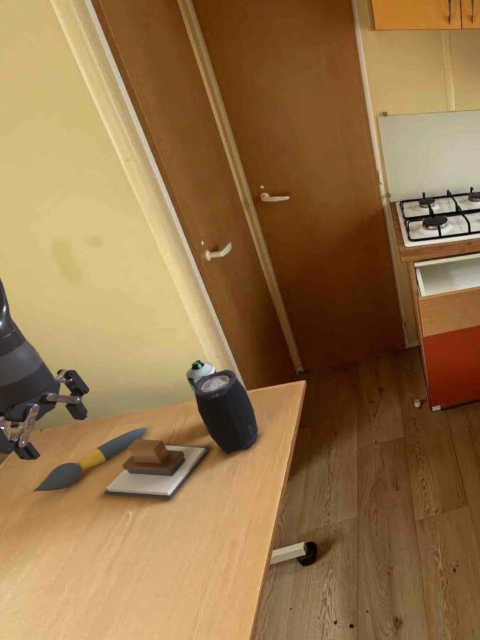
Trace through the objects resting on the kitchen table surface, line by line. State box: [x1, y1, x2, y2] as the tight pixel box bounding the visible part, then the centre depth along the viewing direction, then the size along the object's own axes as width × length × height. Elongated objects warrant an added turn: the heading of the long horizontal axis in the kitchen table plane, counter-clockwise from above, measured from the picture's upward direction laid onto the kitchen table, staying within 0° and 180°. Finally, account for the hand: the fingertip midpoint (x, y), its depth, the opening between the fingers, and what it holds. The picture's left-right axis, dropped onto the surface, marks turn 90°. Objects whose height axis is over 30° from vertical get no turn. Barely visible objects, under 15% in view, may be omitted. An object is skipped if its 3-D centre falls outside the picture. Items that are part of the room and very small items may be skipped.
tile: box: [103, 444, 211, 500], centre depth 95 cm, size 15×12×2 cm
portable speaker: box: [194, 368, 259, 455], centre depth 98 cm, size 9×9×20 cm
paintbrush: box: [32, 427, 148, 492], centre depth 96 cm, size 20×5×5 cm, turn 158°
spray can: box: [185, 359, 217, 395], centre depth 103 cm, size 6×6×20 cm
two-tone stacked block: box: [121, 438, 185, 476], centre depth 93 cm, size 4×10×8 cm, turn 86°
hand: (58, 437), depth 77 cm, fingers open, 8 cm apart
